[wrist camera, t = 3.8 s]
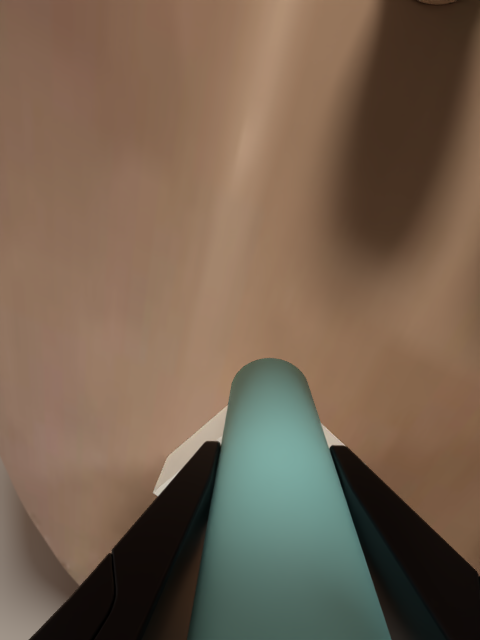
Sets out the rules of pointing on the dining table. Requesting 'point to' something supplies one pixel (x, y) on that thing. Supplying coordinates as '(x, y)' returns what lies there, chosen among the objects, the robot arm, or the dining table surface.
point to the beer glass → (437, 1)
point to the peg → (280, 525)
